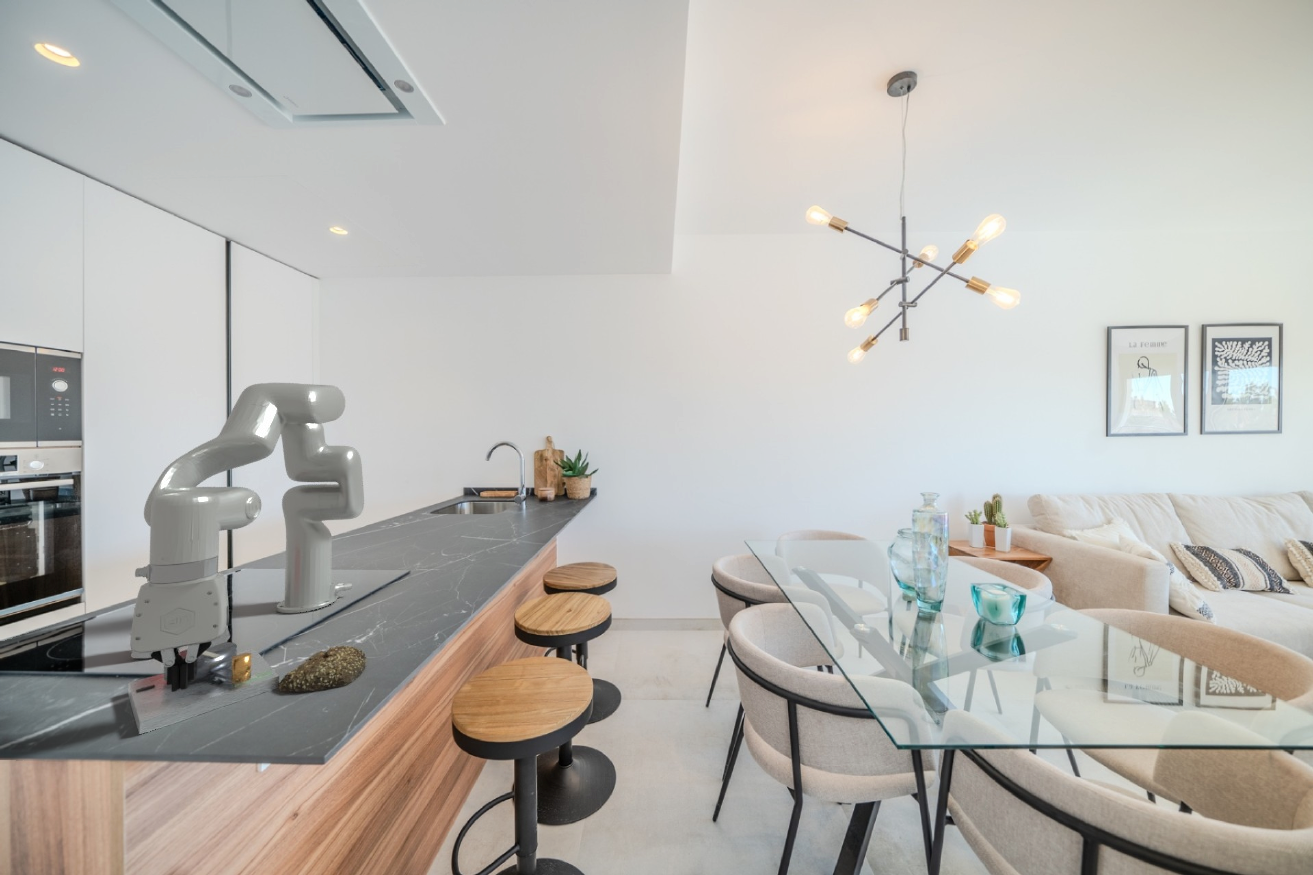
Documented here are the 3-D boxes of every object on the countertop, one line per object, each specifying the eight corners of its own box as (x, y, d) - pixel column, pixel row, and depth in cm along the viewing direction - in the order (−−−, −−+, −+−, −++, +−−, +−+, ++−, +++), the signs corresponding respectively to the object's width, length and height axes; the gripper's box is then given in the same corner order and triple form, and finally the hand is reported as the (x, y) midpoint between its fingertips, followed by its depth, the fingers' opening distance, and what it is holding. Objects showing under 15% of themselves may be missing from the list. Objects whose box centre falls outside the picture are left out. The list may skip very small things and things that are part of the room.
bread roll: (348, 691, 77) (349, 663, 77) (267, 698, 75) (268, 668, 75) (379, 656, 90) (380, 631, 90) (310, 661, 87) (311, 636, 87)
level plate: (253, 658, 88) (253, 644, 88) (279, 687, 78) (279, 672, 78) (128, 694, 75) (128, 679, 75) (139, 735, 65) (139, 717, 65)
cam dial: (151, 676, 75) (151, 652, 75) (217, 652, 84) (218, 631, 84) (211, 695, 70) (212, 670, 70) (276, 668, 79) (276, 645, 79)
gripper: (101, 585, 63) (97, 714, 62) (243, 569, 71) (240, 683, 71) (124, 572, 69) (120, 689, 69) (252, 558, 77) (249, 663, 77)
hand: (182, 686), depth 70 cm, fingers closed
